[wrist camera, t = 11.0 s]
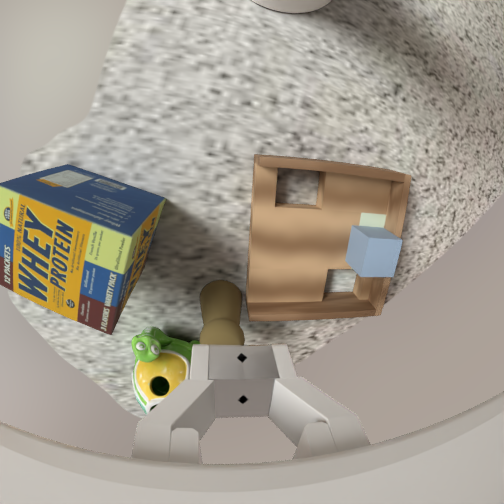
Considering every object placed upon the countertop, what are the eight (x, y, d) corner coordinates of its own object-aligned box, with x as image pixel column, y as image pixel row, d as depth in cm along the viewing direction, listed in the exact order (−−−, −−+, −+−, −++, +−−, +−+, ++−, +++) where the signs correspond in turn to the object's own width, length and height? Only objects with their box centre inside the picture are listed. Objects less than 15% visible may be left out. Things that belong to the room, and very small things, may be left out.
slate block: (351, 225, 37) (369, 237, 32) (383, 227, 37) (402, 240, 33) (345, 260, 39) (360, 277, 34) (375, 261, 39) (393, 277, 35)
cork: (205, 275, 40) (202, 321, 30) (247, 286, 41) (257, 334, 31) (195, 310, 42) (190, 362, 32) (234, 320, 43) (240, 372, 33)
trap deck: (254, 154, 35) (260, 156, 30) (389, 169, 37) (411, 175, 32) (245, 299, 42) (249, 321, 37) (365, 296, 44) (380, 315, 39)
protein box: (145, 268, 39) (112, 337, 24) (52, 232, 35) (-11, 280, 21) (168, 196, 36) (135, 237, 21) (66, 162, 32) (-7, 182, 18)
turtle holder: (192, 298, 41) (185, 353, 30) (220, 383, 48) (223, 438, 37) (116, 310, 41) (91, 362, 30) (155, 390, 48) (146, 442, 37)
